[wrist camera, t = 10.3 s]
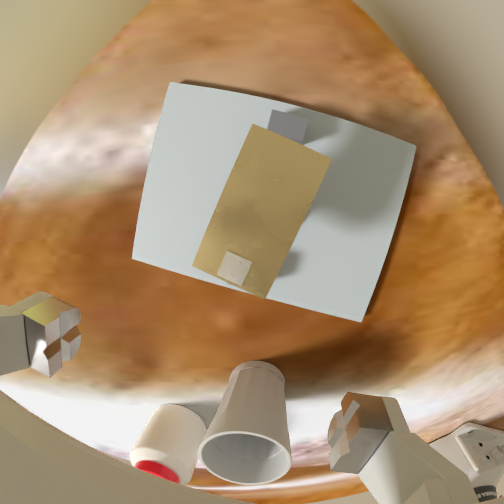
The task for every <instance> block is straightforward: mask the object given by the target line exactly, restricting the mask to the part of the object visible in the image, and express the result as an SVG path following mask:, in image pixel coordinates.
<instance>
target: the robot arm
mask: <svg viewBox="0 0 504 504" xmlns="http://www.w3.org/2000/svg"><path fill="white" fill-rule="evenodd" d="M80 322H81V320H80V311H79V309H78V308H76V307H74V306H72V305H70V304H68V303H66V302H64V301H62V300H60V299H58V298H56V297H54V296H52V295H50V294H48V293H46V292H42V291H39V292H37V293H35V294H33V295H31V296H29V297H27V298H25V299H23V300H21V301H20V302H18V303H16V304H14V305H12V306H10V307H9V306H8V305H0V375H4V374H8V373H11V372H15V371H19V370H22V369H26V368H29V366H30V367H32V368H34V369H35V370H37V371H39V372H41V373H42V374H44V375H46V376H48V377H51V376H52V375H54V374H55V373H56V372H57V371H58V370H59V369H60V368H62V361H67V360H71V359H72V358H73V357H74V356H75V355H76V353H77V351H78V349H79V346H80V341H81V334H80V332H79V330H78V328H77V325H78V324H79V323H80ZM341 406H342V410H340V411H339V412H337V413H335V415H334V417H333V418H332V420H331V423H330V426H329V430H328V443H329V444H330V446H331V447H332V448H333V449H332V450H331V452H330V453H329V458H330V468H331V471H337V472H345V473H354V474H358V476H359V478H360V479H361V480H362V482H363V483H364V484H365V486H366V487H367V488H368V490H369V491H370V492H371V494H372V495H373V496H374V498H375V499H376V500H377V501H378V502H379V504H504V497H502V496H500V497H499V498H497V495H496V486H497V484H498V482H499V481H500V479H501V477H502V475H503V473H504V431H502V430H498V429H494V428H490V427H486V426H482V425H478V424H474V423H470V422H468V423H465V424H463V425H462V426H460V427H459V428H458V429H456V430H455V431H454V432H452V433H451V434H449V435H447V436H445V437H443V438H441V439H438V440H436V441H434V442H432V443H430V444H427V443H426V442H425V441H424V440H422V439H421V438H420V437H419V436H417V435H416V434H415V433H410V431H409V428H408V426H407V423H406V421H405V418H404V416H403V413H402V411H401V409H400V406H399V404H398V401H397V400H396V399H395V398H390V397H381V396H379V397H378V396H371V395H364V394H358V393H351V392H348V393H347V394H346V395H345V396H344V398H343V400H342V402H341ZM0 504H255V503H250V502H245V501H240V500H236V499H231V498H227V497H223V496H219V495H215V494H212V493H208V492H204V491H201V490H197V489H194V488H191V487H187V486H184V485H181V484H178V483H175V482H172V481H169V480H166V479H164V478H161V477H158V476H155V475H153V474H150V473H148V472H145V471H142V470H140V469H138V468H135V467H133V466H130V465H128V464H126V463H123V462H121V461H119V460H117V459H114V458H112V457H110V456H108V455H106V454H104V453H101V452H100V451H98V450H96V449H94V448H92V447H90V446H88V445H86V444H84V443H82V442H80V441H78V440H76V439H75V438H73V437H71V436H69V435H67V434H66V433H64V432H62V431H61V430H59V429H57V428H55V427H54V426H52V425H51V424H49V423H47V422H46V421H44V420H42V419H41V418H39V417H38V416H36V415H35V414H33V413H32V412H30V411H29V410H27V409H26V408H24V407H23V406H21V405H20V404H19V403H17V402H16V401H14V400H13V399H12V398H10V397H9V396H7V395H6V394H5V393H3V392H2V391H1V390H0Z"/></svg>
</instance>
